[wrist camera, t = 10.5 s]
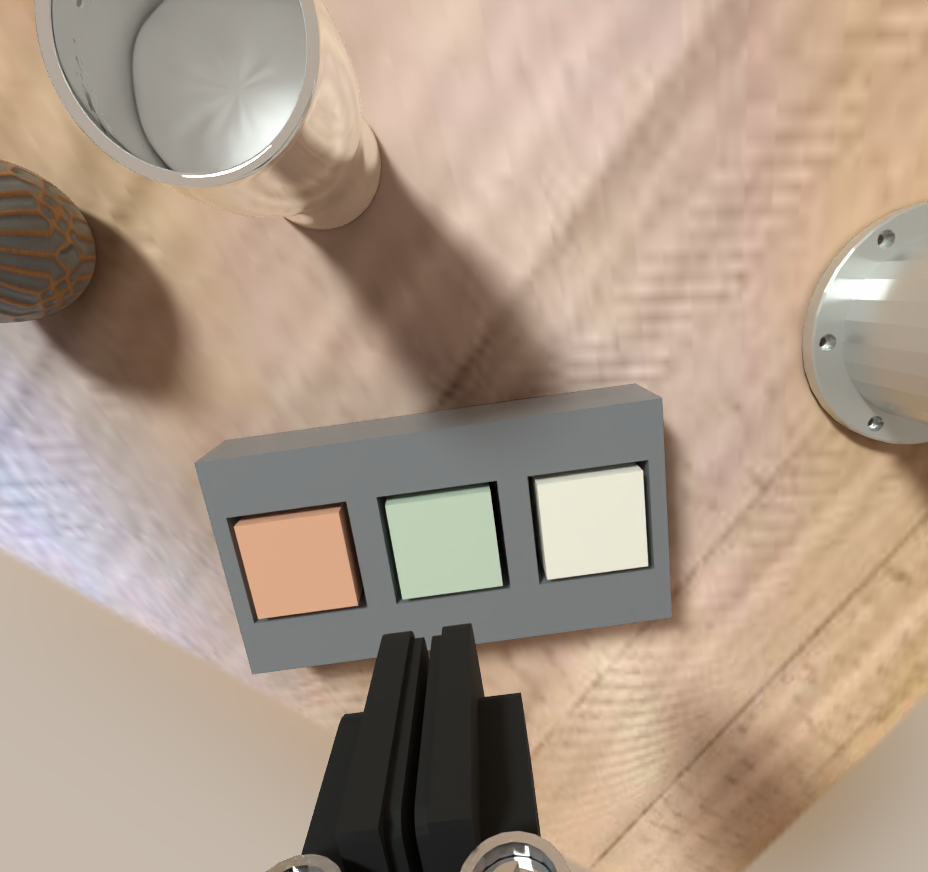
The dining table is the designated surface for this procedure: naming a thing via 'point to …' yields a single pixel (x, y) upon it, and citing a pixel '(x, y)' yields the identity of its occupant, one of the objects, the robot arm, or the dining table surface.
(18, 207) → the vase
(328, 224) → the beer glass
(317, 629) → the button panel
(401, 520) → the sage button
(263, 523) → the terracotta button
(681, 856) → the dining table surface
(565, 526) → the cream button
